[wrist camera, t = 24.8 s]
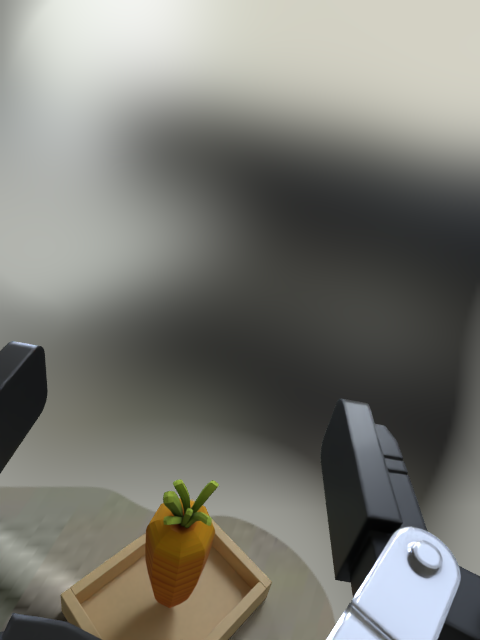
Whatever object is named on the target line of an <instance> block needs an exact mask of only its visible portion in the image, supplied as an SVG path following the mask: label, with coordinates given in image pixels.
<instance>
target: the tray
mask: <svg viewBox="0 0 480 640" xmlns="http://www.w3.org/2000/svg"><path fill="white" fill-rule="evenodd" d="M191 501H194V500H193V499H191ZM194 502H195V501H194ZM212 523H213V526H214V528H215V535H214V539H213V543H212V546H211V550H210V553H209V556H208V559H207V562H206V564H205V567H204V569H203V571H202V573H201V576H200V578H199V580H198V583H197V585H196V587H195V588H194V590H193V592H192V594H191V595H190V596H189V598H188V599H187V600H186V601H184V602H183V603H181V604H179V605H176V606H174V607H171V608H168V607H166V606H164V605H162V604H160V603H158V601H157V600H156V599H155V597H154V593H153V590H152V586H151V582H150V579H149V575H148V571H147V566H146V561H145V543H146V533H144V534H143V535H142V536H140V537H139V538H138V539H136V540H135V541H133V542H132V543H131V544H129V545H128V546H127V547H125V548H124V549H122V550H121V551H120V552H118V553H117V554H116V555H114V556H113V557H111V558H110V559H109V560H107V561H106V562H104V563H103V564H102V565H100V566H99V567H98V568H96V569H95V570H93V571H92V572H91V573H89V574H88V575H87V576H85V577H84V578H82V579H81V580H80V581H78V582H77V583H76V584H74V585H73V586H71V587H70V588H69V589H68V590H66V591H65V592H63V593H62V594H61V605H62V613H63V614H64V616H65V618H66V619H67V621H68V622H69V623H71V624H73V625H75V626H77V627H79V628H81V629H83V630H84V631H86V632H88V633H90V634H92V635H94V636H96V637H98V638H100V639H102V640H228V639H229V638H230V637H231V636H232V635H233V634H234V633H235V632H236V630H237V629H238V628H239V627H240V626H241V625H242V624H243V623H244V622H245V621H246V619H247V618H248V617H249V616H250V615H251V614H252V613H253V612H254V611H255V610H256V608H257V607H258V606H259V605H260V604H261V603H262V602H263V601H264V600H265V598H266V597H267V594H268V592H269V589H270V586H271V584H272V581H271V580H270V579H269V578H268V577H267V576H266V575H265V574H264V573H263V572H262V571H261V570H260V569H259V568H258V567H257V566H256V565H255V564H254V563H253V562H252V560H251V559H250V558H249V557H248V556H247V555H246V554H245V553H244V552H243V551H242V550H241V549H240V548H239V547H238V546H237V545H236V544H235V543H234V542H233V541H232V540H231V539H230V537H229V536H228V535H227V534H226V533H225V532H224V531H223V530H222V529H221V528H220V527H219V526H218V525H217V524H216V523H215V522H214V521H213V520H212Z"/></svg>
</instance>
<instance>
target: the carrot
mask: <svg viewBox="0 0 480 640" xmlns="http://www.w3.org/2000/svg"><path fill="white" fill-rule="evenodd" d="M173 485H174V487H175V489H176V490H177V492H178V494H179V496H180V499H179V498H178V496H177V494H176V493H175V492H173V491H168V492H165V493H164V497H163V502H164V503H163V504H161V505H160V507H159V508H158V510H157V512H156V513H155V515H154V517H153V518H152V520H151V522H150V523H149V525H148V526H147V529H146V543H145V561H146V566H147V571H148V575H149V579H150V582H151V586H152V590H153V593H154V597H155V599H156V600H157V601H158V603H160V604H162V605H164V606H166V607H168V608H171V607H174V606H176V605H179V604H181V603H183V602H184V601H186V600H187V599H188V598H189V596H190V595H191V594H192V592H193V590H194V588H195V587H196V585H197V583H198V580H199V578H200V576H201V573H202V571H203V569H204V567H205V564H206V562H207V559H208V556H209V553H210V550H211V546H212V543H213V539H214V535H215V528H214V526H213V523H212V518H211V517H210V516H209V514H208V512H207V509H206V507H205V506H203V504H204V503H205V501H206V500H207V499H208V498H209V496H210V495H211V494H212V493H213V492H214V491H215V490H216V488H217V487H218V485H219V484H218V483H217V482H215V481H213V480H212V481H211V482H210V483H208V484H207V485H206V486H205V488H204V489H203V490H202V492H201V493H200V495H199V496H198V498H197V499H196V501H195V502H194V501H191V500H190V498H189V493H188V490H187V488H186V486H185V484H184V483H183V481H182V480H176V481H175V482H173Z"/></svg>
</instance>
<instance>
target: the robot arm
mask: <svg viewBox="0 0 480 640" xmlns="http://www.w3.org/2000/svg"><path fill="white" fill-rule="evenodd" d="M46 398H47V379H46V365H45V353H44V349H43V348H42V347H41V346H37V345H31V344H25V343H19V342H14V341H12V342H9V343H8V344H7V345H6V346H5V347H4V348H3V349H2V350H1V351H0V473H1V472H2V470H3V469H4V467H5V465H6V464H7V463H8V461H9V460H10V458H11V457H12V456H13V454H14V452H15V451H16V449H17V448H18V447H19V445H20V444H21V442H22V441H23V439H24V438H25V436H26V435H27V433H28V432H29V430H30V429H31V427H32V426H33V425H34V423H35V422H36V420H37V419H38V417H39V416H40V414H41V413H42V411H43V409H44V406H45V403H46ZM321 466H322V474H323V483H324V490H325V499H326V507H327V515H328V524H329V532H330V540H331V548H332V556H333V565H334V572H335V580H340V581H345V582H351V587H352V593H353V600H352V602H351V603H350V604H349V605H348V607H347V609H346V610H345V612H344V613H343V615H342V616H341V618H340V619H339V621H338V623H337V624H336V626H335V627H334V629H333V631H332V632H331V634H330V636H329V637H328V639H327V640H480V576H478V575H476V574H474V573H472V572H470V571H468V570H466V569H464V568H462V567H460V566H459V565H458V563H457V561H456V559H455V557H454V556H453V554H452V553H451V551H450V550H449V549H448V548H447V546H446V545H445V544H444V543H443V542H442V541H441V540H439V539H438V538H437V537H435V536H434V535H433V534H431V533H429V532H428V531H427V529H426V526H425V523H424V520H423V517H422V514H421V511H420V508H419V505H418V502H417V499H416V496H415V493H414V490H413V487H412V484H411V481H410V478H409V476H407V469H406V466H405V463H404V462H403V457H402V454H401V451H400V448H399V445H398V442H397V441H396V440H395V438H394V437H393V436H392V434H391V433H390V432H389V431H388V429H387V428H386V427H385V426H383V425H377V424H374V420H373V417H372V413H371V410H370V407H369V405H368V404H367V403H362V402H357V401H351V400H345V399H339V400H338V401H337V403H336V406H335V409H334V411H333V414H332V417H331V419H330V422H329V425H328V427H327V430H326V433H325V435H324V438H323V442H322V447H321ZM0 640H102V639H100V638H98V637H96V636H94V635H92V634H90V633H88V632H86V631H84V630H83V629H81V628H79V627H77V626H75V625H73V624H71V623H69V622H65V621H59V620H52V619H46V618H40V617H34V616H27V615H21V614H15V613H13V614H12V616H11V618H10V620H9V622H8V624H7V627H6V629H5V631H3V632H0Z"/></svg>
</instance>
